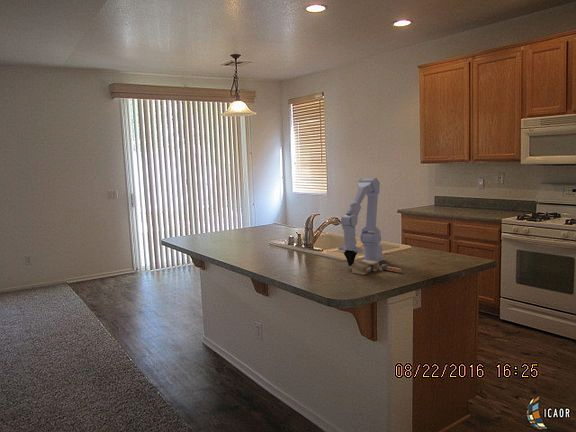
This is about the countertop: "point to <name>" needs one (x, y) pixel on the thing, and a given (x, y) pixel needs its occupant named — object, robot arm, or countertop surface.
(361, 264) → the block
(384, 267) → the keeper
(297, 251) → the countertop surface
